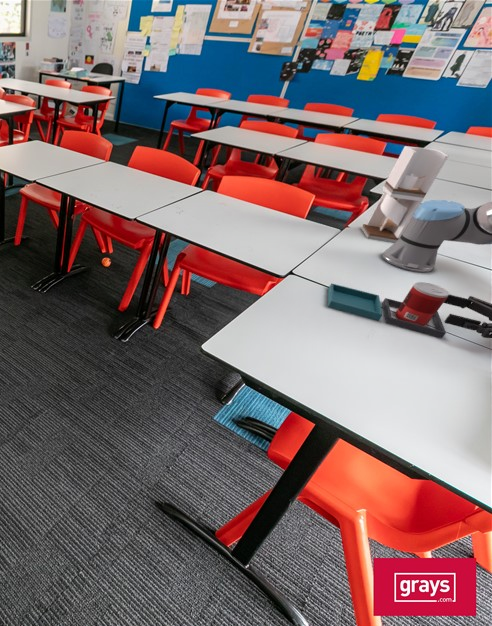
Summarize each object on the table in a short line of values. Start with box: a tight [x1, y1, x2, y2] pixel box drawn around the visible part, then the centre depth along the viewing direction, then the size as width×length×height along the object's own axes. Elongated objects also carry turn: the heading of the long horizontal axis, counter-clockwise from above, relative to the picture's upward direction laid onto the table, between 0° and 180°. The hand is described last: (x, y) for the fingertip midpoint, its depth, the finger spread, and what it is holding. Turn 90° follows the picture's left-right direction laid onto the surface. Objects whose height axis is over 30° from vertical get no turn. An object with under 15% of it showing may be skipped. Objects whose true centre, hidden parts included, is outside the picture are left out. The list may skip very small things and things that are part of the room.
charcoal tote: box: [381, 297, 447, 339], centre depth 126 cm, size 13×13×2 cm
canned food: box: [394, 281, 450, 326], centre depth 124 cm, size 8×8×11 cm
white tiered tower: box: [360, 145, 449, 243], centre depth 171 cm, size 11×11×35 cm
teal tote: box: [327, 283, 384, 322], centre depth 132 cm, size 13×13×2 cm
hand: (442, 307), depth 121 cm, fingers open, 13 cm apart
